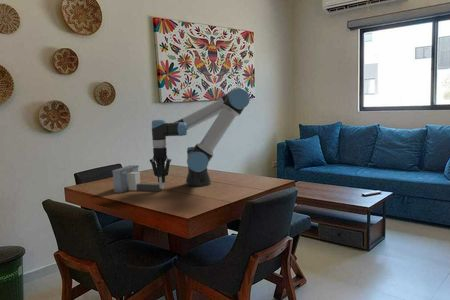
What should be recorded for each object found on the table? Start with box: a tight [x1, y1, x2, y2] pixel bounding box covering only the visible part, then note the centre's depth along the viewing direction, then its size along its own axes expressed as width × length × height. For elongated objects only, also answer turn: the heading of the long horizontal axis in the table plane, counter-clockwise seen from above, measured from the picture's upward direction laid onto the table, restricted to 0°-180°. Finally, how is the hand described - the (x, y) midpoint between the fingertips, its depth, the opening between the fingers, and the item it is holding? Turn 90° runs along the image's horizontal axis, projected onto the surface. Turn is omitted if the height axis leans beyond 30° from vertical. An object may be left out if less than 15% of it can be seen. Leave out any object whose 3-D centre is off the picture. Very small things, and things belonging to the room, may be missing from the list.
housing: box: [111, 164, 140, 194], centre depth 223 cm, size 6×18×13 cm, turn 160°
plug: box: [128, 171, 163, 192], centre depth 218 cm, size 20×5×10 cm, turn 70°
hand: (161, 188), depth 215 cm, fingers closed
